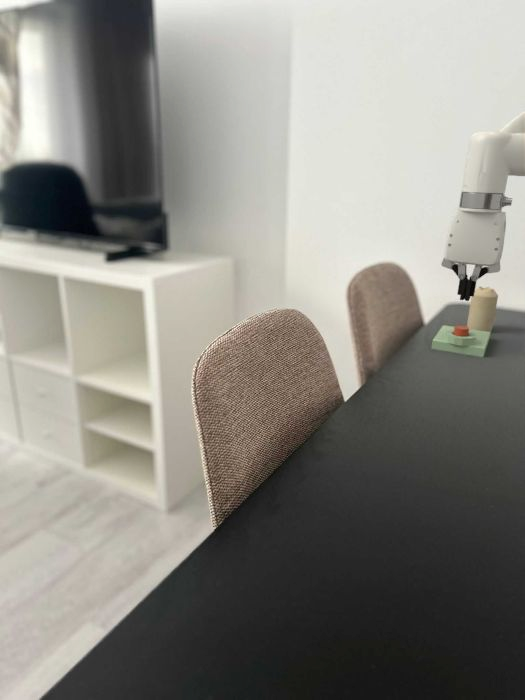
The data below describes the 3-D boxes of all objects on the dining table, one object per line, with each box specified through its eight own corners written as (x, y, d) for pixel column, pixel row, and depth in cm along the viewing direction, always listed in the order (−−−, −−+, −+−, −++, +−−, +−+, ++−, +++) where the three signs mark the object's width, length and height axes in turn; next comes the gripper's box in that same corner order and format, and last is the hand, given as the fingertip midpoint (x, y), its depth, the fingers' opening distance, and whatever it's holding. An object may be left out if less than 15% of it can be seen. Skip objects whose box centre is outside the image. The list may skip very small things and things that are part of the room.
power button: (468, 335, 105) (470, 326, 104) (467, 338, 102) (468, 330, 102) (454, 332, 106) (455, 324, 105) (452, 336, 103) (453, 328, 103)
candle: (462, 329, 119) (468, 287, 116) (472, 325, 123) (479, 284, 120) (485, 334, 116) (493, 291, 112) (495, 330, 119) (503, 288, 116)
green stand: (489, 340, 112) (491, 324, 111) (483, 358, 101) (485, 341, 99) (441, 333, 116) (443, 318, 115) (430, 350, 105) (432, 333, 104)
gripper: (525, 204, 96) (507, 300, 101) (442, 200, 102) (429, 291, 108) (524, 206, 89) (504, 308, 95) (436, 201, 96) (422, 297, 102)
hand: (464, 299), depth 101 cm, fingers closed
